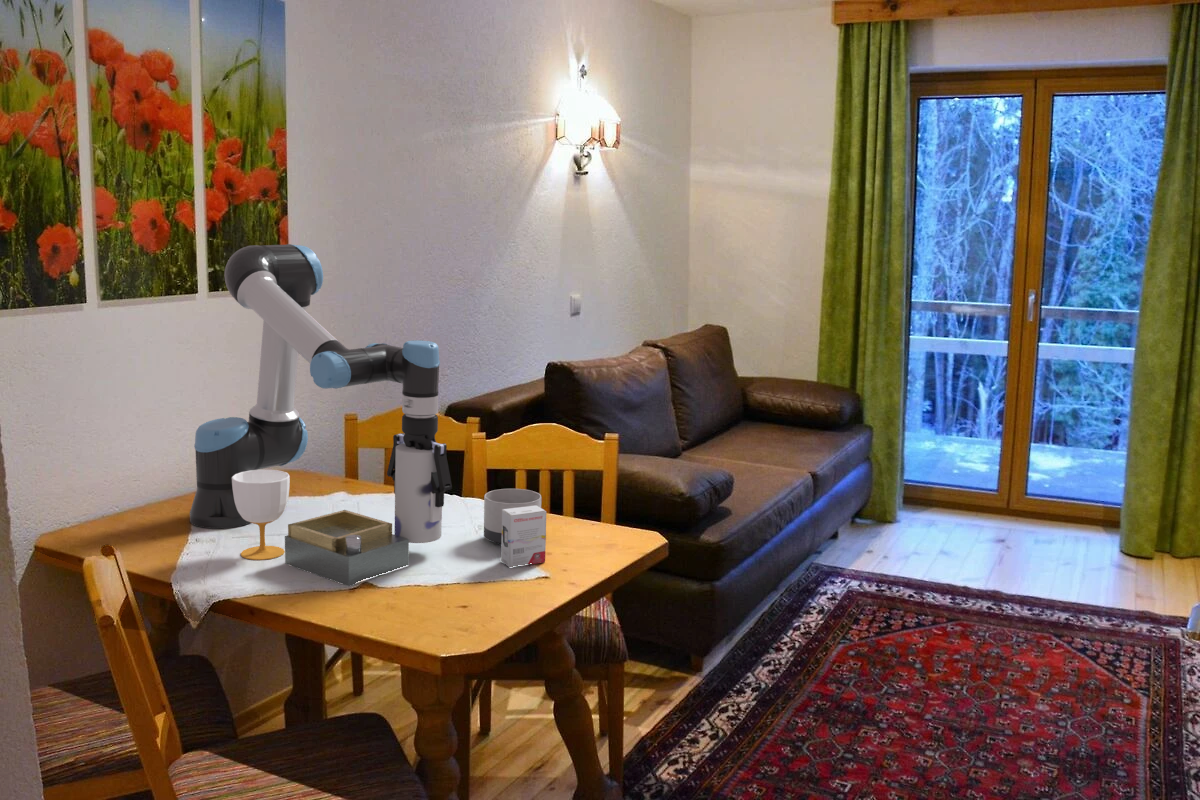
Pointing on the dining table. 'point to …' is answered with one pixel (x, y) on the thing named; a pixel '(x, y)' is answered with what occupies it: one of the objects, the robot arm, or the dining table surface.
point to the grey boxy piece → (345, 547)
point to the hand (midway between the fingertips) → (418, 515)
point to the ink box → (523, 535)
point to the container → (414, 495)
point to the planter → (504, 500)
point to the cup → (261, 505)
